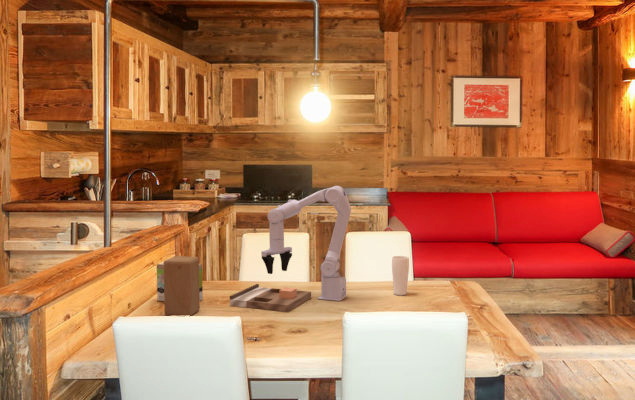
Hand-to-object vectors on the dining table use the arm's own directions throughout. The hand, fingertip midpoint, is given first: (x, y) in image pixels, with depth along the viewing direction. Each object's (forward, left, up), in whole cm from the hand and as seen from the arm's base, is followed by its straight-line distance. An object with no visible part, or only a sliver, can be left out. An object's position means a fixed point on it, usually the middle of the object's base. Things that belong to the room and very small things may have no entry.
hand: (277, 272), depth 259 cm
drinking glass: (-45, -20, -10) cm, 50 cm away
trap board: (-3, +10, -10) cm, 14 cm away
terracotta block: (-9, +10, -7) cm, 15 cm away
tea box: (+32, +21, -10) cm, 39 cm away
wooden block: (+21, +36, -10) cm, 43 cm away
